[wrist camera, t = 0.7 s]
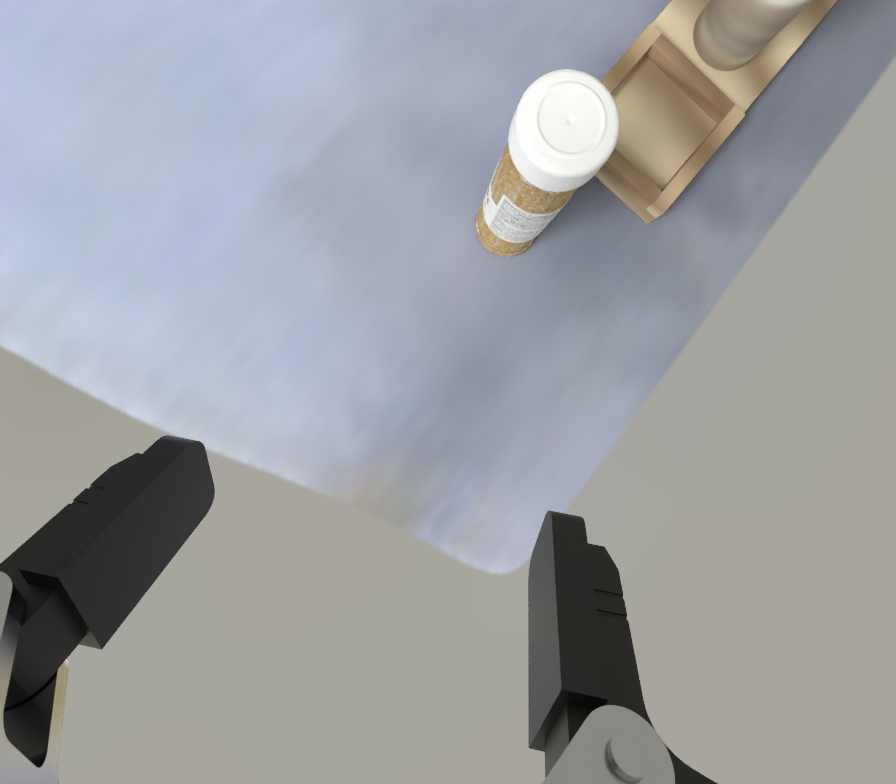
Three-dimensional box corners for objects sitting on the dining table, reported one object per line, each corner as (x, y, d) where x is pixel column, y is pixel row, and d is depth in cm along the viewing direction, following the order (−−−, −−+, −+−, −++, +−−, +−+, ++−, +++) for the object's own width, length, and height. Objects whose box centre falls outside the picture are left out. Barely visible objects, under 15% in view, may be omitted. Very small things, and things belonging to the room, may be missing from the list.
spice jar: (492, 183, 32) (548, 42, 19) (547, 214, 33) (642, 98, 19) (462, 240, 32) (498, 140, 19) (519, 270, 32) (593, 194, 19)
